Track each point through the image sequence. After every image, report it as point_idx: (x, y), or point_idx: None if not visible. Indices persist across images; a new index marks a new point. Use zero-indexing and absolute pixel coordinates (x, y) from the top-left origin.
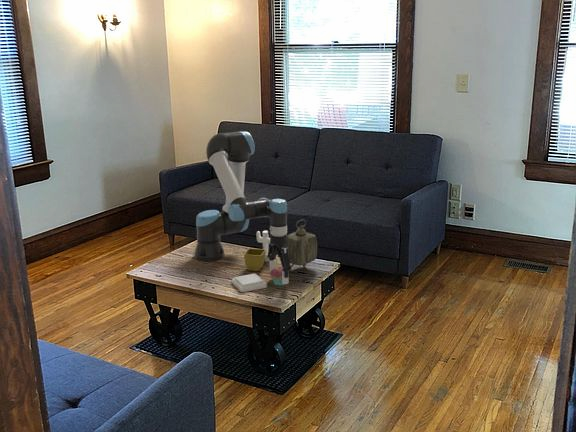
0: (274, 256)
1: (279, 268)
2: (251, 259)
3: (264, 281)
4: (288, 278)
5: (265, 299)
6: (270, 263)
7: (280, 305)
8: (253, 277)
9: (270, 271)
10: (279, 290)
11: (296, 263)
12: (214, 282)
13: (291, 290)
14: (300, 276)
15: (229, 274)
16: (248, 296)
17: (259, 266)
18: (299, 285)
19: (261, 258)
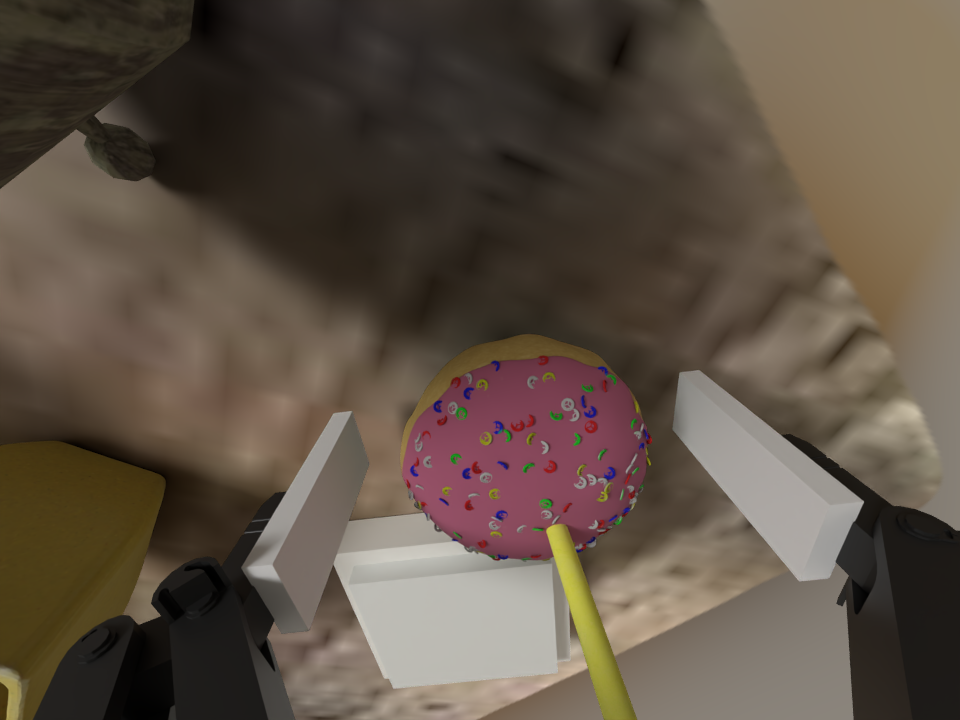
0: (275, 705)
1: (516, 501)
2: None
3: None
4: (741, 404)
5: (752, 545)
6: (323, 586)
7: (914, 490)
8: (442, 606)
9: (359, 488)
10: (665, 429)
11: (172, 44)
12: (360, 698)
13: (729, 335)
14: (380, 67)
15: None
16: (644, 608)
17: (149, 524)
18: (661, 206)
19: (57, 613)
